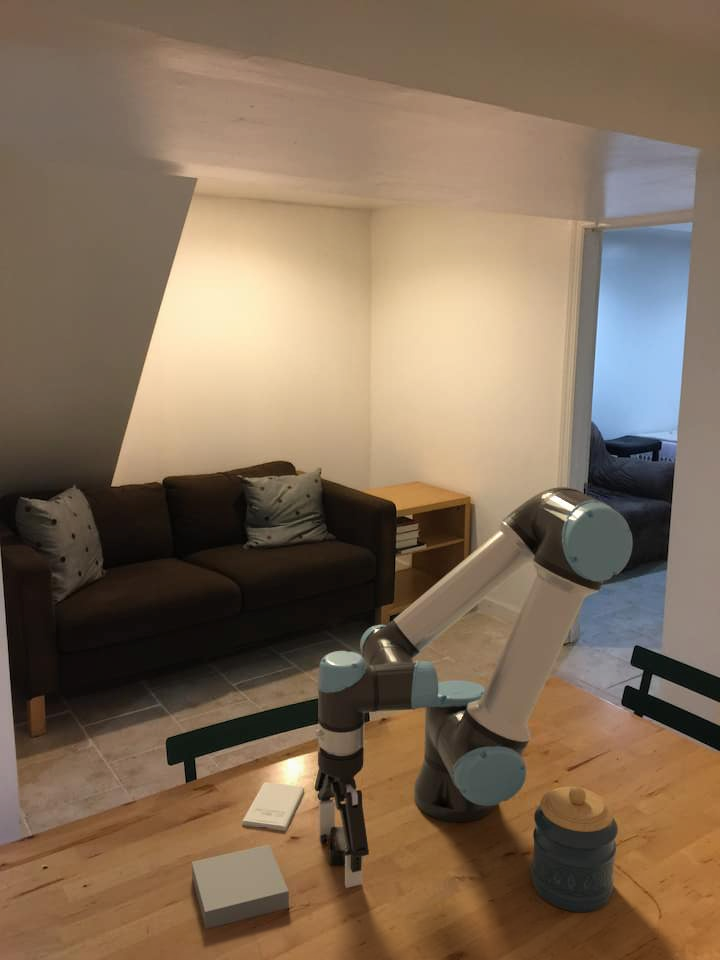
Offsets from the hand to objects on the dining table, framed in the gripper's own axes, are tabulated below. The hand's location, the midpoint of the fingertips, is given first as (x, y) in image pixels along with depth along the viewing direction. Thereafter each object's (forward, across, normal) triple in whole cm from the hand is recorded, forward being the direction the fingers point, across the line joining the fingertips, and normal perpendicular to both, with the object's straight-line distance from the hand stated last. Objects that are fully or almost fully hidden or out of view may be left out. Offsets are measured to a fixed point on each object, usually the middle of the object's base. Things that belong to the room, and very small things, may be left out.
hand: (339, 858), depth 139 cm
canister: (0, +19, +33) cm, 38 cm away
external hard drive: (+1, -18, -7) cm, 19 cm away
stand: (0, +2, -18) cm, 18 cm away
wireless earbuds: (0, -2, 0) cm, 2 cm away
